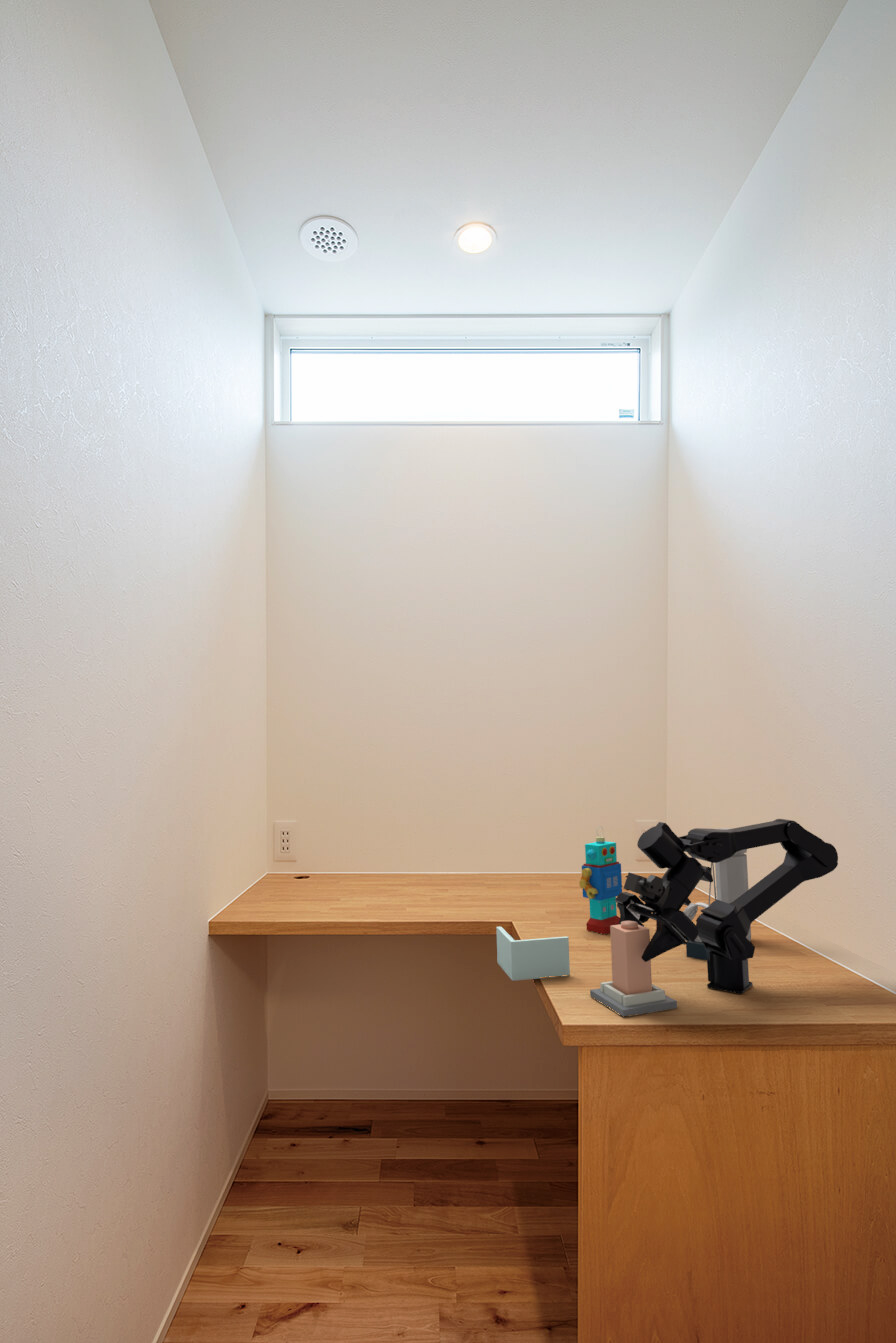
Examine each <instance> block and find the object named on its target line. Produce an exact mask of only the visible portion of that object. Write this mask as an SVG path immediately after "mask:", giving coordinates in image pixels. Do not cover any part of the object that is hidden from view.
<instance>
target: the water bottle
mask: <svg viewBox="0 0 896 1343" xmlns="http://www.w3.org/2000/svg"><path fill="white" fill-rule="evenodd" d="M721 829H723V830H728V829H733V827H731V828H729V827H727V828H721ZM747 852H748V849H745V850H741V851H738V852H736V853H735V854H734V855H733V856H732V857H730V858H728V859H725V860H723V861H721V862H718V863H712V862H710V868H711V874H712V877H713V892H714V901H715V900H720V901H723V902H726V903H731V902H733V901H735V900H736V899H737V898H738V897H740V896H741V895H742V894H744V893H745V892H746V891H747V890H749V889H750V888H749V876H748V859H747V854H746V853H747ZM714 868H715V869H714ZM708 890H709V892H708V902H707V904H708V905H710V904H711V894H712V893H711V891H712V882H709V888H708ZM751 930H752V928H751V925H750V928H749V932H748V935H747V936H746V938H747V939H748V940H749V941H750V942H751V941H752V931H751Z"/></svg>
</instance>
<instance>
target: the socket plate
mask: <svg viewBox="0 0 896 1343" xmlns="http://www.w3.org/2000/svg"><path fill="white" fill-rule="evenodd" d="M599 984H600V988H594V989H589V996H591V997H590V998H592V997H593V998H595V999H597V1000H598V1001H600V1002H602V1003H603V1004H605V1005H606V1006H608V1007H610V1008H611V1009H613V1010H614V1011H616V1012H617V1013H619V1014H620V1015H622V1016H629V1015H635V1016H637V1015H636V1014H640V1015H644V1014H643V1013H646V1014H650V1013H651V1012H652V1013H656V1012H662V1011H668V1010H672V1009H678V1001H677V1000H676V999H674V998H672V997H670V996H669V995H666V991H665V989H661V987H658V986H656V985H655V984H653V983H652V991H649V992H643V993H637V994H631V995H625V994H623V993H622V992H620V991H618V990H617V989H615V988H613V982H612V980H611V981H603V982H599ZM593 998H592V999H593ZM595 999H594V1000H595ZM598 1001H597V1002H598ZM600 1002H599V1003H600ZM603 1004H602V1005H603ZM606 1006H605V1007H606ZM611 1009H610V1010H611ZM614 1011H613V1012H614ZM617 1013H616V1014H617ZM619 1014H618V1015H619ZM620 1015H619V1016H620ZM622 1016H621V1017H622ZM629 1017H630V1016H629Z"/></svg>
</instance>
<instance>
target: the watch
mask: <svg viewBox="0 0 896 1343" xmlns="http://www.w3.org/2000/svg"><path fill="white" fill-rule="evenodd" d="M708 906H710V905H708V903H705V902H701V901H700V902H695V903H694V902H691V903H690V905H689V906H687V905H686V908H684V910H683V912H684V914H685V915H686V916H687V917H688V918H689V919H690V920H691V921H692V920H694V918H695V917H696V914H697V913H698V907H701V908H703V909H705V908H707V907H708ZM686 942H687V944H686V945H685V949H686V951H685V952H686V953H685V954H686V957H687V958H692V959H697V960H702V961H707V960H708V959H709V952H710V951H711V950H709V949H706V948H704V945H703V942H702V940H701V939H700V938H699V937H698V936H697V938H696V939H695V941H694V942H693V943H691V942H688V941H686Z"/></svg>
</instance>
